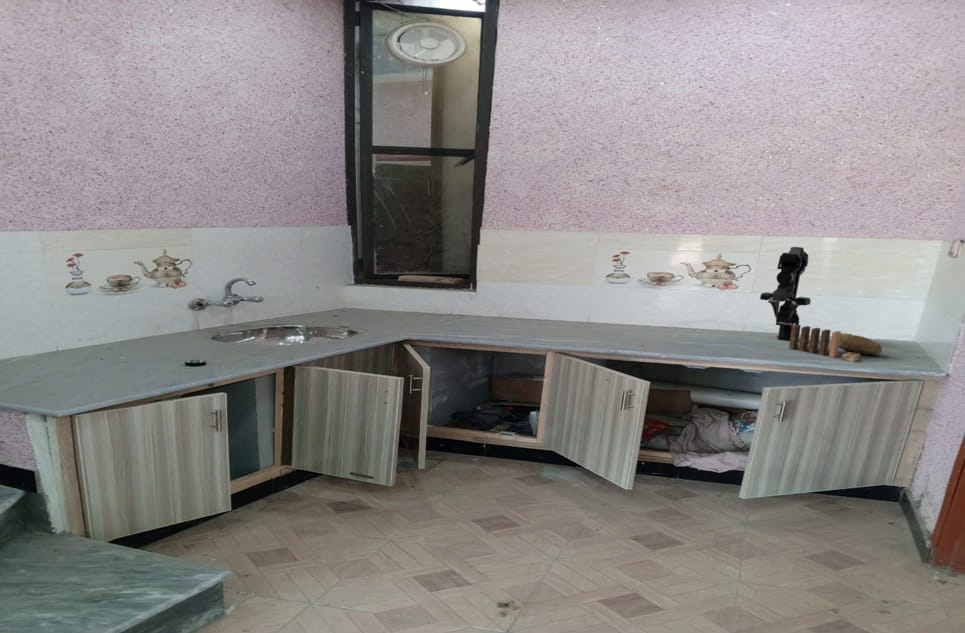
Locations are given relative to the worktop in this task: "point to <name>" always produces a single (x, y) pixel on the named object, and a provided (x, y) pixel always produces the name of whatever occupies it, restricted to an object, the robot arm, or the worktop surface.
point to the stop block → (850, 356)
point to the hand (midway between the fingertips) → (782, 318)
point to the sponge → (859, 344)
